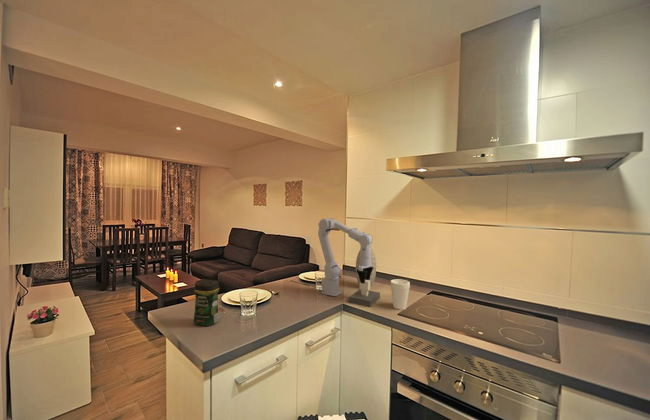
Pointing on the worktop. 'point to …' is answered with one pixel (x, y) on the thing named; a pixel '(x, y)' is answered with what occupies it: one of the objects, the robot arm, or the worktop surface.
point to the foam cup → (400, 293)
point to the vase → (372, 270)
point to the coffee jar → (206, 302)
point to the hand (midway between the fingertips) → (365, 281)
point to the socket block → (364, 298)
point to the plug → (365, 287)
